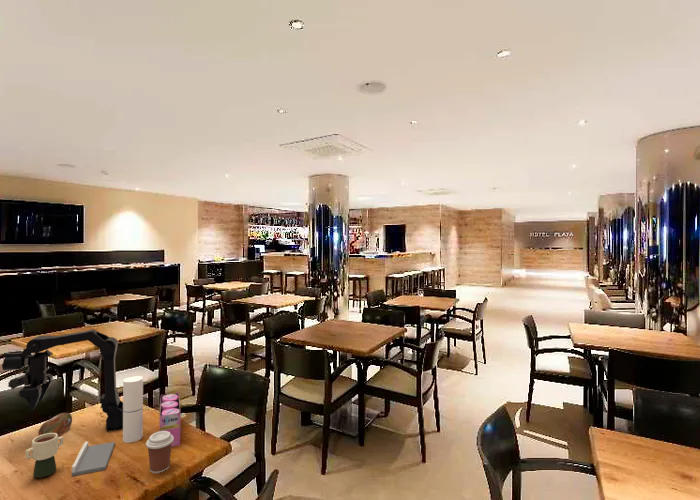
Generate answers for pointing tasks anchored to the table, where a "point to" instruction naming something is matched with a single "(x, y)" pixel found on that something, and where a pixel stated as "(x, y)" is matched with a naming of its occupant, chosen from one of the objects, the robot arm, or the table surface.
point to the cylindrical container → (132, 409)
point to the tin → (57, 425)
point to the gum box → (170, 416)
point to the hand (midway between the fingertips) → (36, 405)
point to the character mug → (44, 453)
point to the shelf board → (92, 458)
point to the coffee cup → (159, 451)
